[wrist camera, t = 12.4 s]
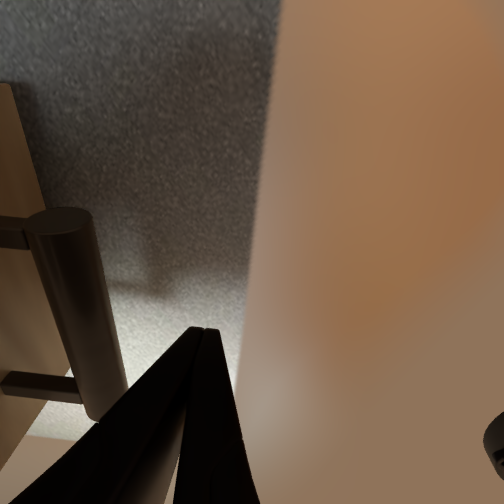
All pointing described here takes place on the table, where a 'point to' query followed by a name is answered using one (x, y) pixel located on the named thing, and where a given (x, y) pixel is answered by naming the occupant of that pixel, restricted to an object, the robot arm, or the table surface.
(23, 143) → the drawer
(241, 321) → the table surface
